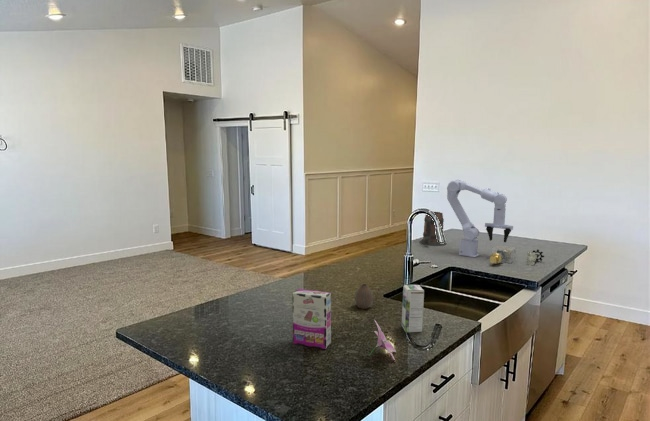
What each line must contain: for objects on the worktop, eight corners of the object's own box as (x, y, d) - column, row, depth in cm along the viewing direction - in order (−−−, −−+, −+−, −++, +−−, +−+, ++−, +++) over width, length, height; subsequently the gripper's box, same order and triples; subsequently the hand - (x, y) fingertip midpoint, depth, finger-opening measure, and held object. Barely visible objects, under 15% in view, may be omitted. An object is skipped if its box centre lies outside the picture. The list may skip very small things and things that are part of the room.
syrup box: (401, 325, 146) (402, 284, 144) (418, 325, 147) (419, 284, 145) (405, 332, 141) (406, 290, 139) (423, 332, 141) (424, 289, 139)
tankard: (424, 239, 287) (425, 209, 284) (449, 242, 279) (451, 211, 276) (412, 246, 267) (413, 214, 264) (439, 249, 259) (440, 216, 256)
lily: (382, 375, 116) (400, 345, 116) (349, 348, 122) (366, 319, 121) (396, 369, 127) (412, 341, 126) (364, 344, 133) (380, 318, 132)
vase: (367, 311, 159) (368, 288, 158) (351, 308, 163) (351, 285, 162) (375, 305, 165) (376, 283, 164) (359, 302, 169) (360, 280, 167)
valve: (535, 266, 222) (543, 262, 230) (536, 254, 221) (544, 250, 229) (522, 264, 226) (531, 260, 235) (523, 252, 225) (531, 248, 234)
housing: (491, 260, 234) (492, 247, 233) (496, 257, 240) (497, 245, 239) (510, 263, 227) (511, 250, 226) (515, 260, 233) (516, 247, 232)
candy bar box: (331, 343, 133) (332, 292, 131) (326, 350, 129) (326, 297, 126) (298, 337, 137) (298, 287, 135) (292, 343, 133) (291, 292, 130)
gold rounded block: (487, 264, 222) (487, 253, 222) (494, 260, 231) (495, 250, 230) (498, 266, 219) (498, 255, 218) (505, 262, 227) (506, 251, 227)
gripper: (483, 216, 235) (481, 240, 237) (510, 218, 226) (509, 244, 228) (488, 214, 240) (486, 238, 242) (515, 217, 231) (513, 242, 233)
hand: (497, 241), depth 235 cm, fingers open, 7 cm apart
